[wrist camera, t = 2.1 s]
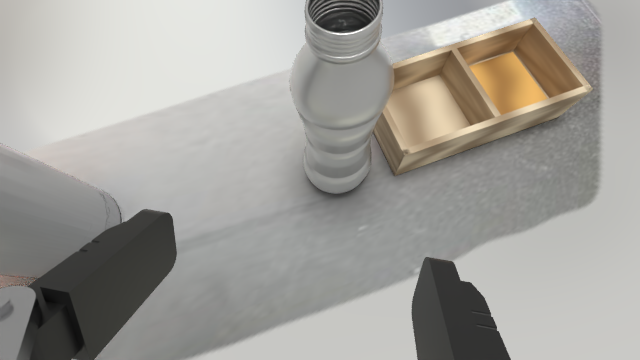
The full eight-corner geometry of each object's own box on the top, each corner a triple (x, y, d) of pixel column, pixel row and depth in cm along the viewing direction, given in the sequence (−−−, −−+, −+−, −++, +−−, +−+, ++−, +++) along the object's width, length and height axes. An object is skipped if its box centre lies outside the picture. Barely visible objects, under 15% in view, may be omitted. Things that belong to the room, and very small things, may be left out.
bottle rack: (394, 176, 33) (404, 155, 28) (358, 102, 36) (363, 73, 32) (560, 116, 35) (595, 88, 30) (512, 51, 38) (537, 16, 33)
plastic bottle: (293, 163, 34) (245, -4, 15) (345, 131, 35) (360, -62, 16) (327, 211, 32) (321, 88, 13) (381, 175, 33) (446, 15, 14)
